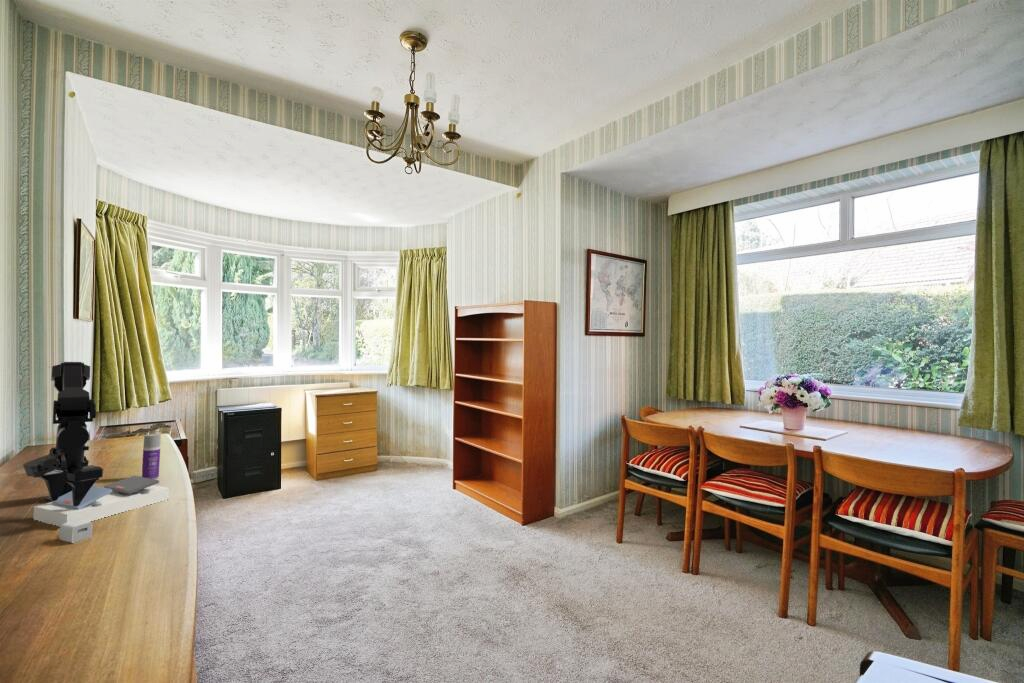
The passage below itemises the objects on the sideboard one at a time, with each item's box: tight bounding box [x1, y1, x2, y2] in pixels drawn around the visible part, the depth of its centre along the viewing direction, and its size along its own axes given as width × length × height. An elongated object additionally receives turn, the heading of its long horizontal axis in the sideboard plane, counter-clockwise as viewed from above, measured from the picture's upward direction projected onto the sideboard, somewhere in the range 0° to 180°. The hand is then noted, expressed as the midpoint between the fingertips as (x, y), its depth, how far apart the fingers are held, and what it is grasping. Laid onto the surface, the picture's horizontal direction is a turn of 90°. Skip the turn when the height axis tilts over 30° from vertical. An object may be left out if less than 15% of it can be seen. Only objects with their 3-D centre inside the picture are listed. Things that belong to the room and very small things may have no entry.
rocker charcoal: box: [103, 475, 160, 494], centre depth 138 cm, size 11×8×2 cm
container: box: [141, 433, 161, 480], centre depth 161 cm, size 5×5×15 cm
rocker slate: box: [51, 484, 113, 510], centre depth 126 cm, size 11×8×2 cm
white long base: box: [32, 484, 170, 528], centre depth 132 cm, size 14×25×4 cm, turn 160°
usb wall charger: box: [57, 520, 93, 544], centre depth 112 cm, size 4×7×4 cm, turn 73°
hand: (65, 503), depth 123 cm, fingers open, 9 cm apart
